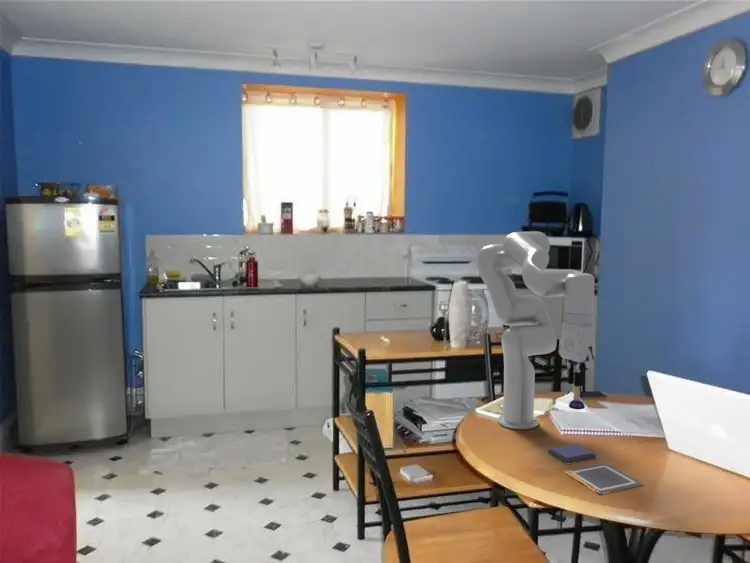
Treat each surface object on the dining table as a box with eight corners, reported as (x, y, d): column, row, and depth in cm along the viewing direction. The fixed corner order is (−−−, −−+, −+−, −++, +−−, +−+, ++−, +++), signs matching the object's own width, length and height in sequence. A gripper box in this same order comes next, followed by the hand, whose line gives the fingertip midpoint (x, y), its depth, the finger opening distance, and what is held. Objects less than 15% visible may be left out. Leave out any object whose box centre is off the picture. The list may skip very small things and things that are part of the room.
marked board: (563, 472, 170) (563, 470, 170) (605, 464, 175) (605, 462, 175) (599, 495, 157) (599, 493, 157) (644, 485, 162) (644, 484, 162)
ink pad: (548, 453, 183) (548, 448, 183) (576, 448, 186) (577, 443, 186) (565, 464, 175) (566, 458, 175) (595, 458, 179) (595, 453, 179)
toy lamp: (581, 410, 175) (583, 350, 173) (564, 408, 177) (566, 348, 175) (586, 406, 179) (588, 347, 177) (569, 403, 181) (570, 345, 179)
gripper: (549, 314, 181) (547, 378, 183) (586, 325, 166) (584, 394, 168) (571, 312, 183) (569, 375, 186) (610, 322, 169) (607, 390, 171)
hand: (576, 384), depth 177 cm, fingers closed on toy lamp
